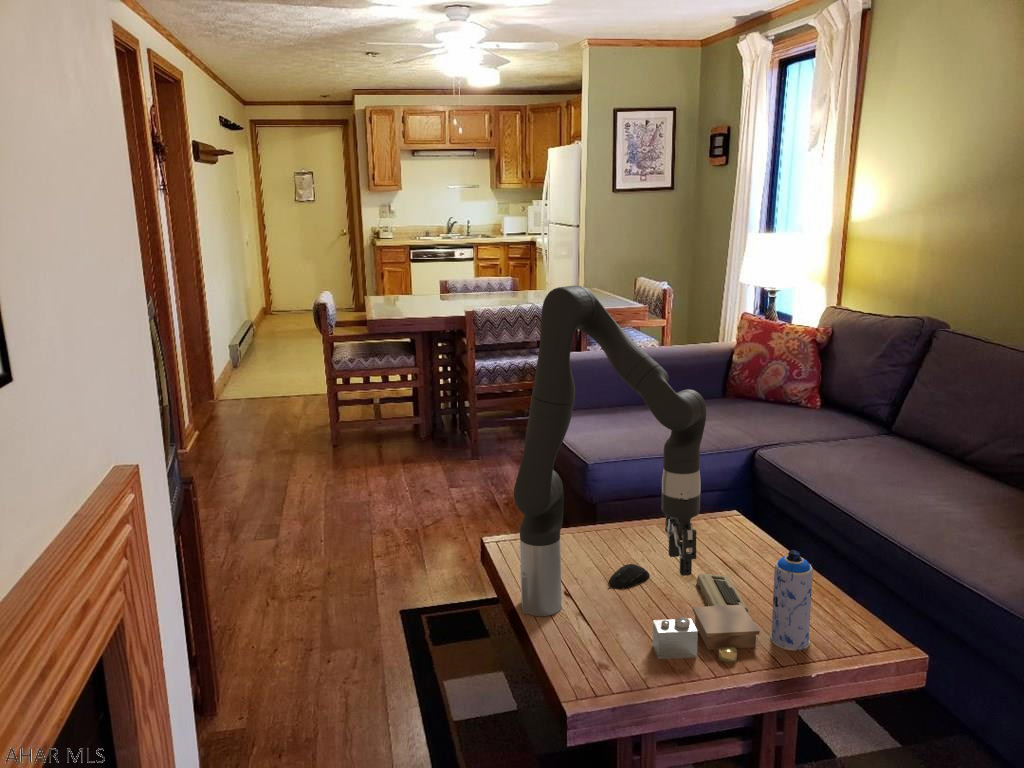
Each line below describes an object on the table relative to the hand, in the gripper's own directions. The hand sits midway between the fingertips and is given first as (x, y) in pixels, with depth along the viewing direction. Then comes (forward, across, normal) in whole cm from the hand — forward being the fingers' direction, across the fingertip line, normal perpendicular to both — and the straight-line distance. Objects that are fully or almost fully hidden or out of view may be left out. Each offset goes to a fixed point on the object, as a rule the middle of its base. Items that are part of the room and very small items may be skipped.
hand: (679, 565), depth 158 cm
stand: (+19, -4, +11) cm, 22 cm away
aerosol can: (+19, 0, +24) cm, 30 cm away
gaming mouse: (+19, -30, -5) cm, 36 cm away
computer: (+19, -19, +16) cm, 31 cm away
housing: (+19, +1, -1) cm, 19 cm away
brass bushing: (+19, +5, +9) cm, 21 cm away
